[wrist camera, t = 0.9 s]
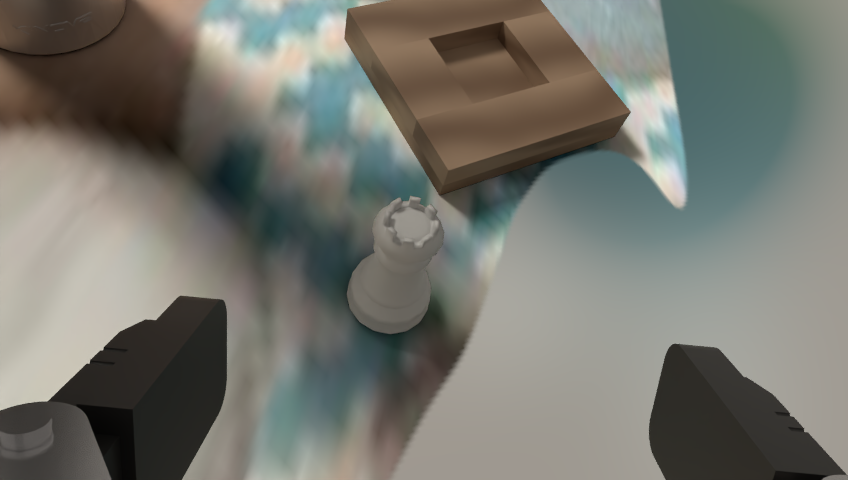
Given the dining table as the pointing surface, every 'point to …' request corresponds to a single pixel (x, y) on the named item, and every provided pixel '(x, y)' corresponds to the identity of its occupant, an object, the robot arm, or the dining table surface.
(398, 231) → the rook chess piece
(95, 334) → the dining table surface
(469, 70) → the socket plate
